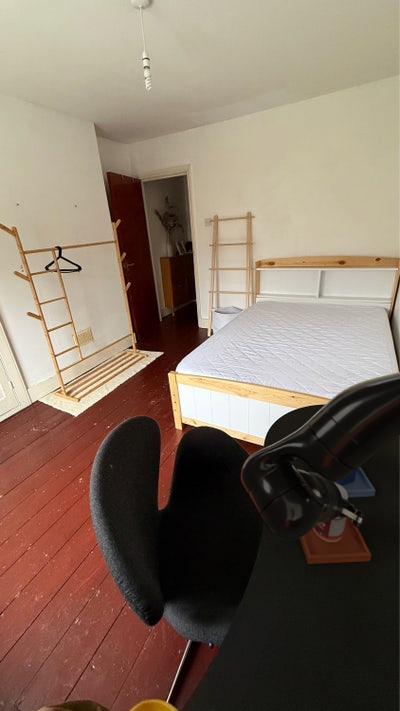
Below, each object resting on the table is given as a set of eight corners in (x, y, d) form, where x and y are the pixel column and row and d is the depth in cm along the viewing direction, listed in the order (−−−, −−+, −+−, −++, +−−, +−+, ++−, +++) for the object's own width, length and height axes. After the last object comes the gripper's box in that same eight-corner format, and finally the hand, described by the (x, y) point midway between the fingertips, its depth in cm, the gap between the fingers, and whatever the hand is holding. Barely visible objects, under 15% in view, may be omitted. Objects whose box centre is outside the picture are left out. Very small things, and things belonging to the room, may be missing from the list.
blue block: (342, 469, 79) (344, 456, 77) (354, 481, 75) (357, 469, 73) (328, 473, 78) (330, 460, 76) (339, 486, 74) (341, 473, 72)
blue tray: (352, 461, 82) (353, 456, 81) (374, 496, 72) (375, 490, 71) (311, 463, 82) (312, 458, 81) (327, 498, 72) (328, 493, 71)
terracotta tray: (342, 506, 70) (343, 500, 69) (369, 561, 59) (371, 554, 58) (290, 509, 70) (291, 503, 69) (307, 564, 59) (308, 558, 58)
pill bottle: (306, 520, 66) (310, 483, 61) (330, 513, 67) (337, 476, 62) (323, 547, 60) (329, 509, 56) (349, 538, 62) (358, 500, 57)
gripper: (368, 500, 45) (379, 503, 57) (283, 455, 55) (308, 466, 67) (349, 548, 44) (365, 540, 56) (266, 494, 54) (295, 497, 66)
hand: (334, 500), depth 62 cm, fingers closed on pill bottle, 6 cm apart
